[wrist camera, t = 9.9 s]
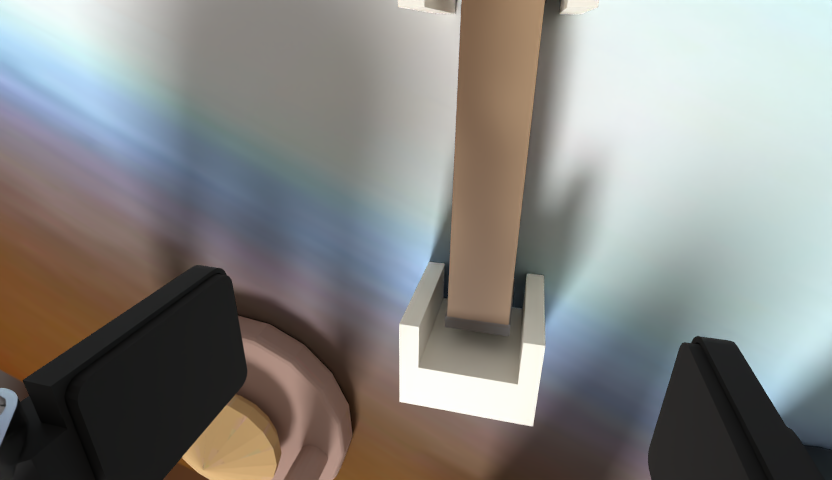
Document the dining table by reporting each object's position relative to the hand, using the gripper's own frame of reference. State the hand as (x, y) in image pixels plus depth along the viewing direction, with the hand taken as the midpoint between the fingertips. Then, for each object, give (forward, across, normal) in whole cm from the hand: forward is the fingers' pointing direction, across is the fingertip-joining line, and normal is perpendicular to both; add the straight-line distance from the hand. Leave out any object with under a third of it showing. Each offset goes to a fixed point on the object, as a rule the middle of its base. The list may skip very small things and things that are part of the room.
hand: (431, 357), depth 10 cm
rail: (+18, 0, 0) cm, 18 cm away
